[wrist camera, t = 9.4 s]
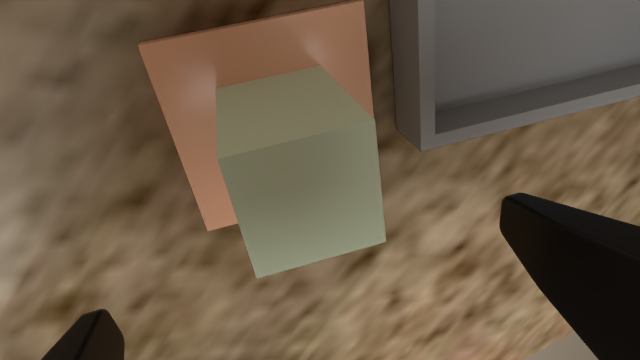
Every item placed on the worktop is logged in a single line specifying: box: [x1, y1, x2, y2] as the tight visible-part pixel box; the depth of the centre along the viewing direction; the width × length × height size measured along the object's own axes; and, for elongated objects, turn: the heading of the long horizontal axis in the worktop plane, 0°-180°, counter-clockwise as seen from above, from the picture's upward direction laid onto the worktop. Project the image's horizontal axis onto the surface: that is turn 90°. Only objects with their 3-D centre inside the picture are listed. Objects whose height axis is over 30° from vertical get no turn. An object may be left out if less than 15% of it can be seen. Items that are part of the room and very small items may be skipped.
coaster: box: [138, 0, 374, 231], centre depth 16 cm, size 8×8×1 cm
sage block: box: [216, 65, 386, 278], centre depth 13 cm, size 4×4×6 cm
